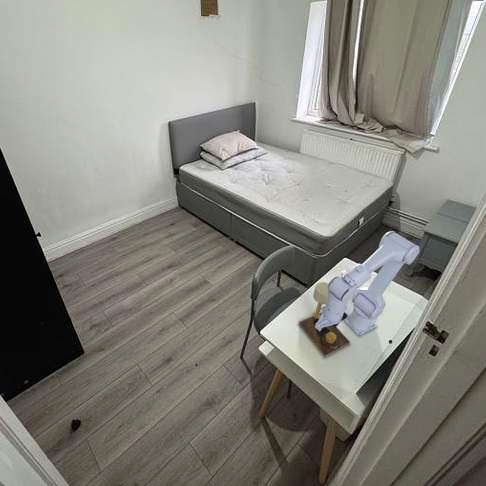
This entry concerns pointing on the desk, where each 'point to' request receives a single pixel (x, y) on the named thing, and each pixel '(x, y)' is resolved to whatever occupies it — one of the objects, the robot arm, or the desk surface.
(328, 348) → the lamp base
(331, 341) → the lamp switch
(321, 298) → the lamp
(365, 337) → the desk surface
